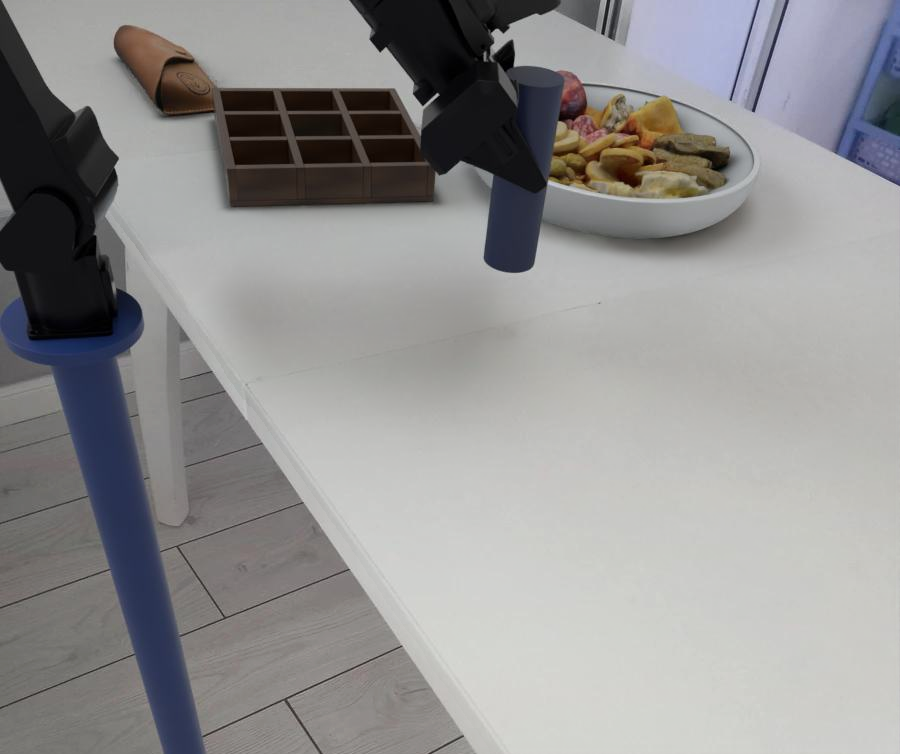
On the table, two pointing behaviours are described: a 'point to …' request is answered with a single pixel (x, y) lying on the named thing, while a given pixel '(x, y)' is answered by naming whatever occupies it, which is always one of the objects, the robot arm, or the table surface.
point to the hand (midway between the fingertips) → (540, 176)
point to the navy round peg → (511, 205)
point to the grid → (319, 147)
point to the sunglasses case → (165, 71)
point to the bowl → (642, 163)
